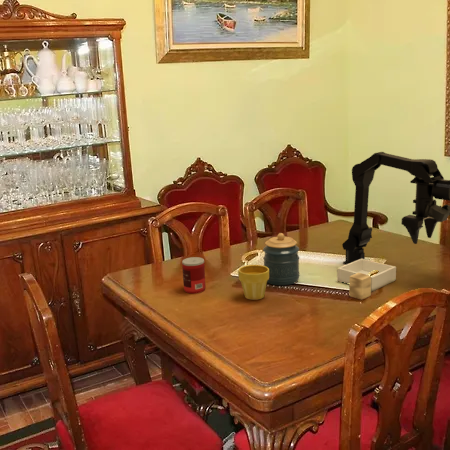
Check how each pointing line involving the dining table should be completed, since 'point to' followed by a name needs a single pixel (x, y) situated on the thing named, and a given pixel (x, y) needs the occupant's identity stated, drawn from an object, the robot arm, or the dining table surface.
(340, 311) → the dining table surface
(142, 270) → the dining table surface
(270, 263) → the canister
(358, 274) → the wooden block
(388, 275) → the bin
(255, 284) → the plant pot
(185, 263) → the canned food
